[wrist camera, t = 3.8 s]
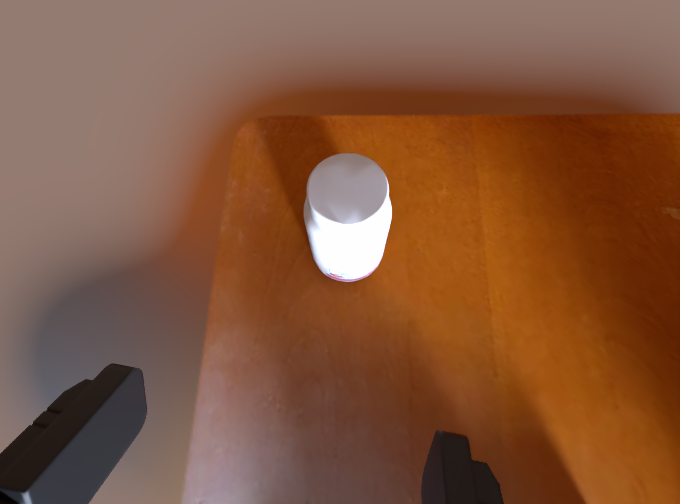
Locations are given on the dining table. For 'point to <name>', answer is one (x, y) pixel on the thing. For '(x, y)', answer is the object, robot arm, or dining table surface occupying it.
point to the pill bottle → (347, 216)
